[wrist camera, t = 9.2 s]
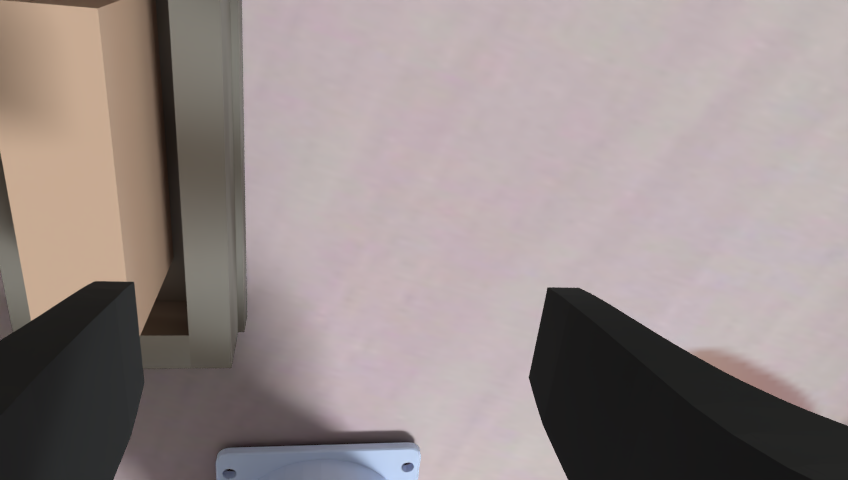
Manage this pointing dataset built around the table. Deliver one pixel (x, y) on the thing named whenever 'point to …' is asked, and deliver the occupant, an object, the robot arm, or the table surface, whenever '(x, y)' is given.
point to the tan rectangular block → (85, 147)
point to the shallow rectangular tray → (187, 193)
